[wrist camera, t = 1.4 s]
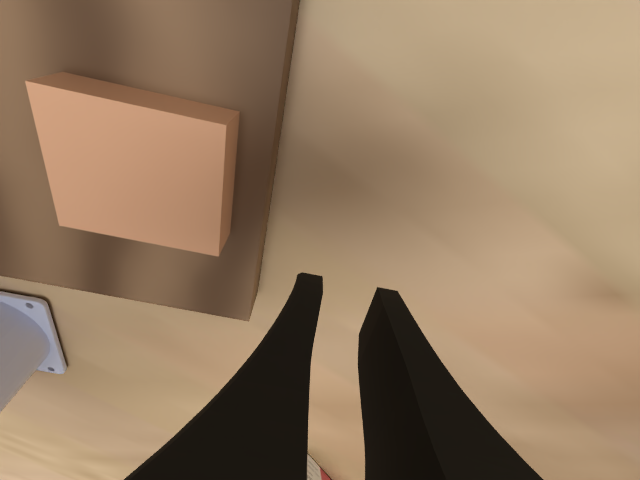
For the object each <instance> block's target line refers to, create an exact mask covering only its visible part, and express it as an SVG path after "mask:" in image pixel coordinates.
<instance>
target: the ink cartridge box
mask: <svg viewBox="0 0 640 480" xmlns="http://www.w3.org/2000/svg"><path fill="white" fill-rule="evenodd" d="M307 480H331V479H330V478H329V477H328V476H327V475H326V474H325V472H324V471H323V470H322V469H321V468H320V467H319V466H318V465H317V463H316V462H315V461H314V460H313V459H312V458H311V457H310V456H309V455H308V453H307Z"/></svg>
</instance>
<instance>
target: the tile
mask: <svg viewBox="0 0 640 480" xmlns="http://www.w3.org/2000/svg"><path fill="white" fill-rule="evenodd" d="M25 83H26V87H27V92H28V96H29V100H30V104H31V109H32V113H33V117H34V121H35V125H36V130H37V134H38V138H39V142H40V147H41V151H42V155H43V159H44V163H45V168H46V172H47V176H48V180H49V185H50V189H51V193H52V197H53V202H54V206H55V210H56V214H57V218H58V223H59V226H64V227H69V228H75V229H80V230H85V231H90V232H95V233H100V234H105V235H110V236H115V237H121V238H126V239H131V240H136V241H141V242H146V243H151V244H156V245H161V246H167V247H172V248H177V249H182V250H187V251H192V252H197V253H202V254H208V255H213V256H218V257H219V255H220V253H221V251H222V249H223V247H224V245H225V243H226V241H227V239H228V237H229V234H230V229H231V217H232V204H233V191H234V179H235V166H236V153H237V140H238V128H239V115H240V111H236V110H231V109H227V108H222V107H218V106H213V105H209V104H204V103H200V102H195V101H191V100H186V99H182V98H177V97H173V96H169V95H164V94H160V93H155V92H151V91H146V90H142V89H137V88H133V87H128V86H124V85H119V84H115V83H111V82H106V81H102V80H97V79H93V78H88V77H84V76H79V75H75V74H70V73H66V72H60V73H56V74H51V75H47V76H43V77H39V78H35V79H31V80H26V81H25Z"/></svg>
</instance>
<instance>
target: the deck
mask: <svg viewBox="0 0 640 480" xmlns="http://www.w3.org/2000/svg"><path fill="white" fill-rule="evenodd" d="M299 2H300V0H0V276H5V277H11V278H16V279H22V280H27V281H32V282H38V283H43V284H49V285H54V286H60V287H65V288H70V289H76V290H81V291H87V292H92V293H98V294H103V295H108V296H114V297H119V298H125V299H130V300H136V301H141V302H146V303H152V304H157V305H163V306H168V307H174V308H179V309H184V310H190V311H195V312H201V313H206V314H212V315H217V316H222V317H228V318H233V319H239V320H244V321H249V319H250V316H251V312H252V309H253V306H254V302H255V299H256V296H257V291H258V284H259V278H260V271H261V264H262V257H263V250H264V243H265V236H266V229H267V223H268V216H269V209H270V202H271V195H272V188H273V181H274V174H275V168H276V161H277V154H278V147H279V140H280V133H281V126H282V119H283V113H284V106H285V99H286V92H287V85H288V78H289V71H290V64H291V58H292V51H293V44H294V37H295V30H296V23H297V16H298V9H299ZM60 72H66V73H70V74H75V75H79V76H84V77H88V78H93V79H97V80H102V81H106V82H111V83H115V84H119V85H124V86H128V87H133V88H137V89H142V90H146V91H151V92H155V93H160V94H164V95H169V96H173V97H177V98H182V99H186V100H191V101H195V102H200V103H204V104H209V105H213V106H218V107H222V108H227V109H231V110H236V111H240V115H239V128H238V140H237V153H236V166H235V179H234V191H233V204H232V217H231V229H230V234H229V237H228V239H227V241H226V243H225V245H224V247H223V249H222V251H221V253H220V255H219V257H218V256H213V255H208V254H202V253H197V252H192V251H187V250H182V249H177V248H172V247H167V246H161V245H156V244H151V243H146V242H141V241H136V240H131V239H126V238H121V237H115V236H110V235H105V234H100V233H95V232H90V231H85V230H80V229H75V228H69V227H64V226H59V223H58V218H57V214H56V210H55V206H54V202H53V197H52V193H51V189H50V185H49V180H48V176H47V172H46V168H45V163H44V159H43V155H42V151H41V147H40V142H39V138H38V134H37V130H36V125H35V121H34V117H33V113H32V109H31V104H30V100H29V96H28V92H27V87H26V83H25V81H26V80H31V79H35V78H39V77H43V76H47V75H51V74H56V73H60Z"/></svg>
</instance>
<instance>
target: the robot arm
mask: <svg viewBox="0 0 640 480" xmlns="http://www.w3.org/2000/svg"><path fill="white" fill-rule="evenodd" d="M322 295H323V278H322V276H318V275H312V274H307V273H300V274H298V275H297V279H296V282H295V285H294V288H293V290H292V292H291V294H290V296H289V298H288V300H287V302H286V304H285V306H284V307H283V309H282V311H281V313H280V314H279V316H278V318H277V319H276V321H275V322H274V324H273V325H272V327H271V328H270V330H269V331H268V333H267V334H266V335H265V337H264V338H263V340H262V341H261V343H260V344H259V345H258V347H257V348H256V349H255V351H254V352H253V353H252V354H251V356H250V357H249V358H248V359H247V361H246V362H245V363H244V364H243V366H242V367H241V368H240V369H239V370H238V371H237V373H236V374H235V375H234V376H233V377H232V378H231V379H230V380H229V382H228V383H227V384H226V385H225V386H224V387H223V388H222V389H221V390H220V391H219V393H218V394H217V395H216V396H215V397H214V398H213V399H212V400H211V401H210V402H209V403H208V404H207V405H206V406H205V407H204V408H203V409H202V410H201V411H200V412H199V413H198V414H197V415H196V416H195V417H194V418H193V419H192V420H191V421H189V422H188V423H187V424H186V425H185V426H184V427H183V428H182V429H181V430H180V431H179V432H178V433H177V434H176V435H175V436H174V437H173V438H172V439H170V440H169V441H168V442H167V443H166V444H165V445H164V446H163V447H162V448H160V449H159V450H158V451H157V452H156V453H154V454H153V455H152V456H151V457H150V458H149V459H147V460H146V461H145V462H144V463H143V464H142V465H140V466H139V467H138V468H137V469H136V470H135V471H133V472H132V473H131V474H130V475H129V476H127V477H126V478H125V479H124V480H307V448H308V410H309V385H310V365H311V356H312V348H313V343H314V337H315V332H316V327H317V321H318V316H319V311H320V305H321V300H322ZM36 370H39V371H45V372H51V373H57V374H63V373H64V372H65V371H66V370H67V366H66V363H65V360H64V356H63V353H62V350H61V346H60V343H59V340H58V336H57V333H56V330H55V326H54V323H53V320H52V316H51V313H50V310H49V306H48V304H47V302H46V301H45V300H43V299H40V298H35V297H29V296H24V295H18V294H13V293H7V292H2V291H0V412H1V411H2V410H3V409H4V407H5V406H6V405H7V404H8V403H9V402H10V400H11V399H12V398H13V397H14V396H15V394H16V393H17V392H18V391H19V390H20V388H21V387H22V386H23V385H24V384H25V382H26V381H27V380H28V379H29V378H30V377H31V375H32V374H33V373H34V372H35V371H36ZM358 373H359V386H360V397H361V409H362V420H363V431H364V443H365V480H543V479H542V478H541V477H540V476H539V475H538V474H537V473H536V472H535V471H534V470H533V469H532V468H531V467H530V466H529V465H528V464H527V463H526V462H525V461H524V460H523V459H522V458H521V457H520V456H519V455H518V454H517V452H516V451H515V450H514V449H513V448H512V447H511V446H510V445H509V444H508V443H507V442H506V441H505V440H504V439H503V438H502V437H501V435H500V434H499V433H498V432H497V431H496V430H495V429H494V428H493V426H492V425H491V424H490V423H489V422H488V421H487V420H486V418H485V417H484V416H483V415H482V414H481V412H480V411H479V410H478V409H477V408H476V406H475V405H474V404H473V403H472V402H471V400H470V399H469V398H468V397H467V395H466V394H465V393H464V392H463V390H462V389H461V388H460V387H459V385H458V384H457V382H456V381H455V380H454V378H453V377H452V376H451V374H450V373H449V372H448V370H447V369H446V367H445V366H444V365H443V363H442V362H441V360H440V359H439V357H438V356H437V354H436V353H435V351H434V350H433V348H432V347H431V345H430V344H429V342H428V341H427V339H426V337H425V336H424V334H423V333H422V331H421V329H420V328H419V326H418V325H417V323H416V321H415V320H414V318H413V316H412V315H411V313H410V311H409V310H408V308H407V306H406V304H405V303H404V301H403V299H402V298H401V296H400V295H399V293H398V291H394V290H389V289H384V288H379V287H377V290H376V292H375V295H374V297H373V300H372V302H371V305H370V307H369V310H368V312H367V315H366V318H365V320H364V323H363V325H362V328H361V330H360V333H359V347H358Z"/></svg>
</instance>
